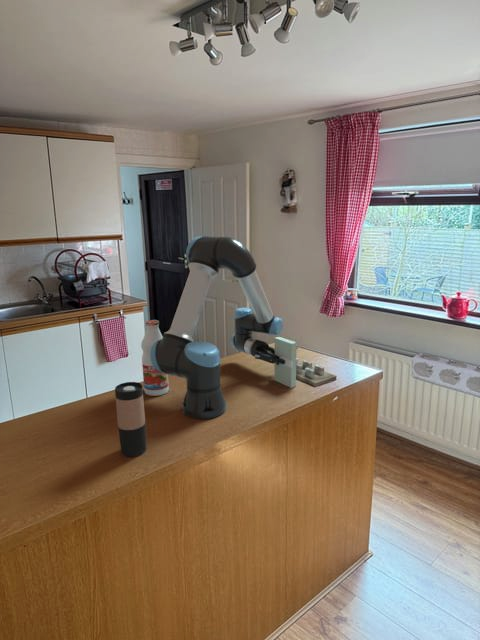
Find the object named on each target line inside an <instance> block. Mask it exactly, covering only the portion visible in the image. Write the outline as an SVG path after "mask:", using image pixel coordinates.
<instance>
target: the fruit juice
mask: <svg viewBox="0 0 480 640" xmlns="http://www.w3.org/2000/svg"><path fill="white" fill-rule="evenodd" d="M159 325H160V321H159V320H157V319H150V320H146V321H145V327H146V330H145V331H144V336H143V339H142V340H141V343H140V344H141V345H140V347H141V349H142V355H141V366H142V376H143V377H142V378H143V379H142V380H143V390H144V394H145V395H147V396H151V397H153V396H154V397H157V396H163V395H165V394H167V393H168V392H169V389H170V383H169V374H165V373H163V372H160V371H158V370H156V369H155V368H154V367H153V365H152V362H151V358H150V353H151V348H152V346H153V344H154V343H155V342H156V341H157V340H160V339H162V338H163V334H162V333H161V330H160V328H159V327H160V326H159Z"/></svg>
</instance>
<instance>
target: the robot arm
mask: <svg viewBox="0 0 480 640" xmlns="http://www.w3.org/2000/svg"><path fill="white" fill-rule="evenodd" d="M185 254H186V256H185V257H186V260H187V263H188V265H187V267H188V269H189V273H188V276H187V279H186V282H185V284H184V285H185V286H184V288H183V291H182V294H181V296H180V299H179V303H178V306H177V308H176V310H175V311H176V312H175V314H174V317H173V319H172V323H171V326H170V328H169V329H168V331H166V332H164V333H163V334H162V336H163V338H162V339H160V340H157V341H156V342H155V343H154V344H153V346H152V348H151V353H150V358H151V362H152V365H153V367H154V368H155V369H156V370H158V371H160V372H163V373H165V374H168V375H171V376H175V377H179V378H182V379H185V381H186V382H185V383H186V391H185V395H184V398H183V401H182V412H183V414H184V415H185V416H187V417H189V418H192V419H197V420H198V419H199V420H206V419H207V420H208V419H214V418H217V417H219V416H221V415H223V414H225V412H226V410H227V402H226V399H225V397H224V393H223V391H222V388H221V357H220V350H219V348H218V347H217V346H216V345H214V344H213V343H210V342H207V341H200V340H199V341H197V340H196V341H194V339H193V336H194V333H195V331H196V327H197V324H198V322H199V319H200V315H201V313H202V309H203V306H204V304H205V301H206V297H207V294H208V291H209V288H210V286H211V283H212V280H213V278H216V277H218V275H219V274H218V273H219V271H220V269H224V270H229V272H230V273H232V276H233V277H234V278H236V280H238V281H237V282H238V283H239V285H240V288H241V289H242V292H243V294H244V297H246V300H247V302H248V305H249V307H250V308H249V307H239V308H236V309H235V311H234V333H233V334H232V336H231V338H230V345H231V346H232V347H233V349H236V350H237V351H238V352H242V353H245V354H247V355H250V356H251V357H254V358H255V360H261V361H263V362H267V363H270V364H273V365H275V362H276V365H279V363H281V364H283V365H286V366H288V367H290V368H292V365H293V361H292V360H290V359H287V358H284V357H282V356H281V357H280V358H279V356H277V355H275V347H272V346H269V344H268V343H267V342H266V341H264V340H261V339H258V338H255V337H253V333H259V334H263V335H264V334H265V335H270V336H279V335H280V334H281V333H282V331H283V327H284V322H283V319H282V318H281V317H278V316H275V315H274V313H273V311H272V307H271V306H270V303H269V301H268V297H267V295H266V293H265V290H264V287H263V285H262V283H261V280H260V278H259V275H258V273H257V271H256V270H257V267H258V266H257V263H256V261H255V259H254V257H253V255H252V254H251V252H250V251H249V249H248V248H247V247H246V246H245V245H244V244H243V243H242V242H241V241H239V240H238V239H236V238H234V237H230V236H209V235H203V236H196V237H194V238H193V239H191V240H190V242H189V243H188V245H187V247H186V252H185ZM299 360H300V359H299V358H297V357H296V366H299V364H300V361H299Z"/></svg>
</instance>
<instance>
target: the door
mask: <svg viewBox="0 0 480 640" xmlns="http://www.w3.org/2000/svg"><path fill="white" fill-rule="evenodd" d="M274 349H275V355H277V356H279V358H280V357H281V356H282V357H284V358H287V359H290V360H292V361H293V365H292V368H290V367H288V366H286V365H283V364H281V363H279V365H276V362H275V363H274V374H273V375H274V377H273V378H274V381H275V382H277V383H280V384H282V385H284V386H286V387H288V388H291V389H292V388H295V387H296V386H297V379H296V358H297V350H298V349H299V347H298V345H297V341H296V342H295V341H294V340H291V339H287V338H284V337H282V336H281V337H280V336H277V337H274Z"/></svg>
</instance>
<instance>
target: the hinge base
mask: <svg viewBox="0 0 480 640" xmlns="http://www.w3.org/2000/svg"><path fill="white" fill-rule="evenodd" d="M296 380H299V381H301V382H304V383H306V384H308V385H311V386H314V387H319V386H322V385H324V384H327V383H330V382H333V381H335V380H337V375H335V374H332V373H330V372H327V371H325V367H324V366H321V365H319V364H314V366H313V362H311V361H308V360H302V362H299V366H296Z"/></svg>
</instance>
